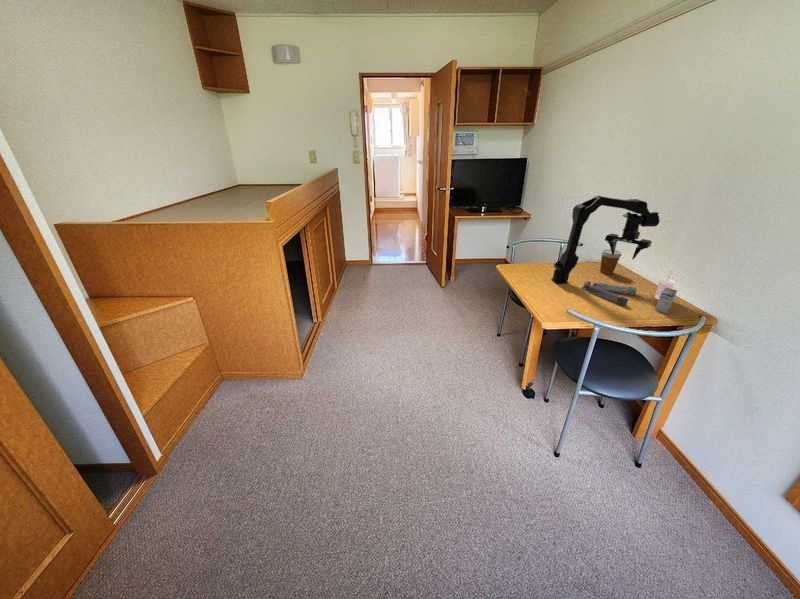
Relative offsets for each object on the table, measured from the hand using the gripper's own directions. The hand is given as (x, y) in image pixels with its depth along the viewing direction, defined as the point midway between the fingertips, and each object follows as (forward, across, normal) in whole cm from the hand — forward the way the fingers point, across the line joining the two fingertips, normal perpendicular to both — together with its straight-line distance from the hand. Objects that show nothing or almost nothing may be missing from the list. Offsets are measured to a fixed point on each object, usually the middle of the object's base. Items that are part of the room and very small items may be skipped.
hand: (622, 257), depth 168 cm
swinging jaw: (+14, -3, +13) cm, 19 cm away
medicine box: (+14, -25, +17) cm, 34 cm away
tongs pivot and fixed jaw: (+14, -2, +22) cm, 26 cm away
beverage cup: (+14, -21, +5) cm, 26 cm away
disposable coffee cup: (+14, +9, -11) cm, 20 cm away
